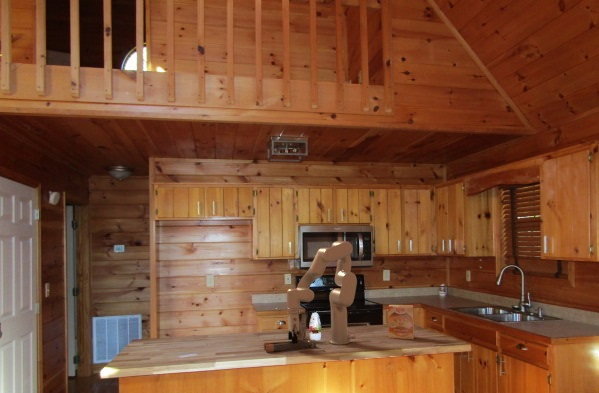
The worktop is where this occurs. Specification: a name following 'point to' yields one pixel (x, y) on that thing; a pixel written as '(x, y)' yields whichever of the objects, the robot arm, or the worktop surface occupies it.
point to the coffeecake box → (401, 321)
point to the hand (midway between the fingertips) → (292, 341)
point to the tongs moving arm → (288, 346)
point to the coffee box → (302, 326)
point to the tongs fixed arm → (288, 342)
